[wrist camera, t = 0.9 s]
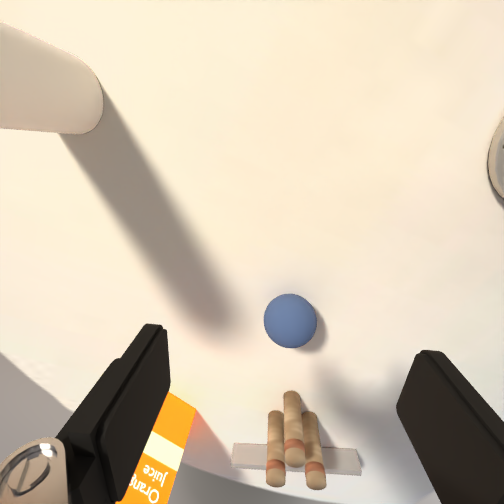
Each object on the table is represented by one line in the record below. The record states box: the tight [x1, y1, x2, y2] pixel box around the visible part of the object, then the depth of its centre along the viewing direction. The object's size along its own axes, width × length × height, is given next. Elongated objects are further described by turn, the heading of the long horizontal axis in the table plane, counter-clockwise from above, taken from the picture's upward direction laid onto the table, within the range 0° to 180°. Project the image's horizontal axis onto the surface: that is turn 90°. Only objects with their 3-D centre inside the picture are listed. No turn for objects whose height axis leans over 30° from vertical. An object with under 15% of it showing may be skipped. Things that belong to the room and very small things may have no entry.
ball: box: [264, 294, 317, 348], centre depth 29 cm, size 6×6×6 cm
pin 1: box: [266, 411, 286, 487], centre depth 36 cm, size 2×2×8 cm
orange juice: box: [116, 392, 196, 504], centre depth 32 cm, size 8×9×20 cm
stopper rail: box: [231, 443, 362, 476], centre depth 41 cm, size 20×1×3 cm, turn 95°
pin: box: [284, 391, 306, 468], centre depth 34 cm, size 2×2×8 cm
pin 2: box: [301, 412, 326, 490], centre depth 35 cm, size 2×2×8 cm
